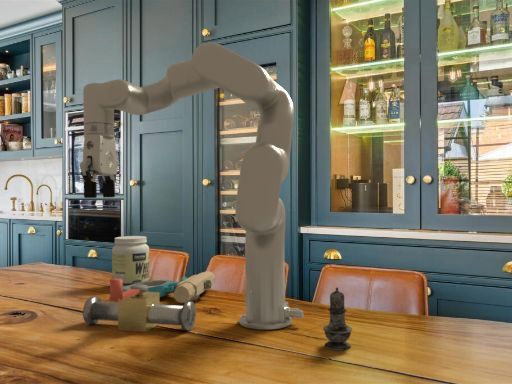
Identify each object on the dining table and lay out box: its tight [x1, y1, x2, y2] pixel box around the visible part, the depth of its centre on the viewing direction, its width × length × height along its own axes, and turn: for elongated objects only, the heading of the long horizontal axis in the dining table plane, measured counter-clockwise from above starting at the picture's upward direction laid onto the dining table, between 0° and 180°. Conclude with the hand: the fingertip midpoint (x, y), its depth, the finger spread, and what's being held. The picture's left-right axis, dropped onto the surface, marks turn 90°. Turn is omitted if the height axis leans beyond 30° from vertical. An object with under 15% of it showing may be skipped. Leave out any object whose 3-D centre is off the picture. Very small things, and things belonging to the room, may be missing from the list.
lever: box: [108, 278, 148, 302], centre depth 104 cm, size 13×4×5 cm, turn 166°
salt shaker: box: [322, 286, 353, 351], centre depth 93 cm, size 6×6×12 cm
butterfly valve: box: [123, 270, 216, 304], centre depth 138 cm, size 27×7×30 cm
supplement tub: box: [111, 235, 151, 287], centre depth 153 cm, size 12×12×17 cm
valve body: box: [82, 292, 197, 333], centre depth 108 cm, size 26×7×8 cm, turn 76°
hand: (100, 197), depth 119 cm, fingers open, 9 cm apart
